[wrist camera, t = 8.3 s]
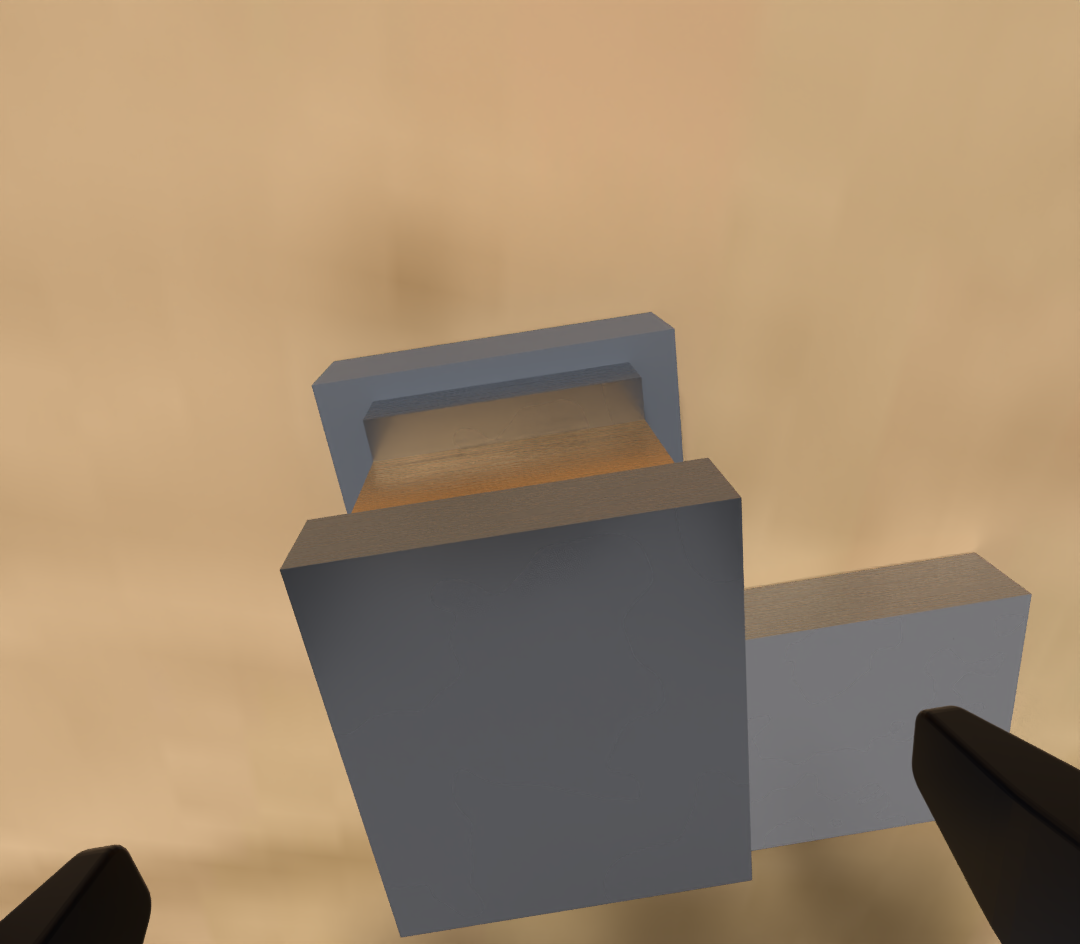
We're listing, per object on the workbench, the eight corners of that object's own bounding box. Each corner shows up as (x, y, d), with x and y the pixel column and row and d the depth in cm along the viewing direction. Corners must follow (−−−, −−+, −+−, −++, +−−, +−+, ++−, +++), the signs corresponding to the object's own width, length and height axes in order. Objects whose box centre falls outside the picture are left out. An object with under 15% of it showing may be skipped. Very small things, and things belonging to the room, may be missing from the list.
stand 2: (975, 552, 18) (1031, 593, 16) (951, 755, 21) (997, 810, 19) (711, 595, 18) (737, 641, 16) (721, 792, 20) (745, 851, 19)
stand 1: (651, 311, 15) (674, 328, 13) (672, 585, 18) (694, 630, 16) (333, 361, 15) (311, 385, 13) (403, 627, 18) (393, 679, 16)
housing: (652, 619, 16) (751, 879, 10) (434, 653, 16) (400, 937, 10) (628, 362, 13) (741, 498, 7) (373, 401, 13) (280, 569, 7)
